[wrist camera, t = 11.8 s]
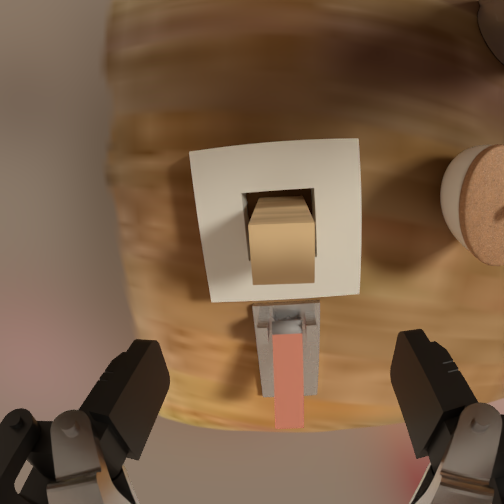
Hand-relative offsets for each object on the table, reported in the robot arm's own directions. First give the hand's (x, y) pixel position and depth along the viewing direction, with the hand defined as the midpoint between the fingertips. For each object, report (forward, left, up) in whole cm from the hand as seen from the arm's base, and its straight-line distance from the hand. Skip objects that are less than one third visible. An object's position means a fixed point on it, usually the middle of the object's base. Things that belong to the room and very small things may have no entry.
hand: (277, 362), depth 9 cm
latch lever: (+16, 0, -16) cm, 23 cm away
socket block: (0, 0, -20) cm, 20 cm away
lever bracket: (+16, 0, -20) cm, 26 cm away
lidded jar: (-2, +20, -20) cm, 28 cm away
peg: (0, 0, -20) cm, 20 cm away
